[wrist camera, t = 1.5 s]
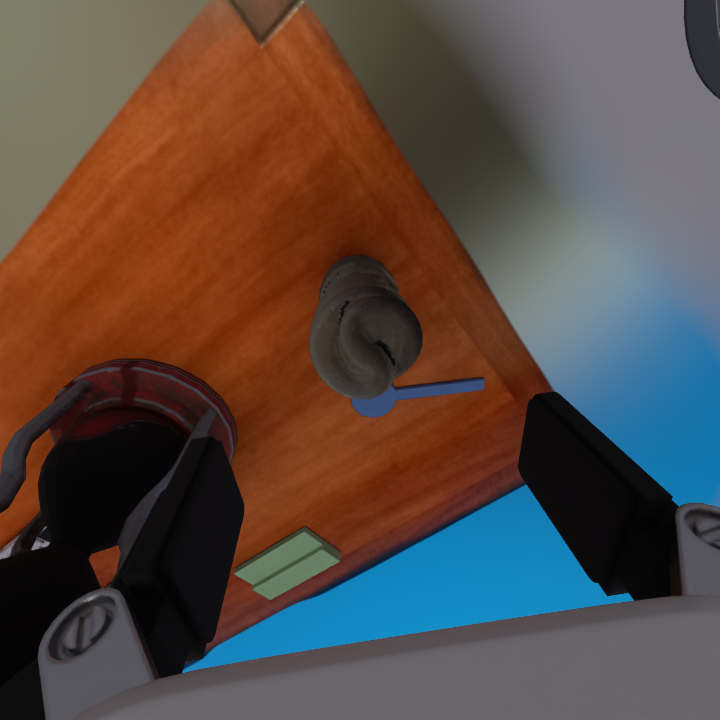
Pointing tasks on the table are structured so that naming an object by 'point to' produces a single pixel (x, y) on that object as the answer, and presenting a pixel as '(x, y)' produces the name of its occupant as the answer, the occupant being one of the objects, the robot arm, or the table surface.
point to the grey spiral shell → (362, 329)
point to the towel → (288, 563)
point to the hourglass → (94, 485)
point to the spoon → (413, 395)
